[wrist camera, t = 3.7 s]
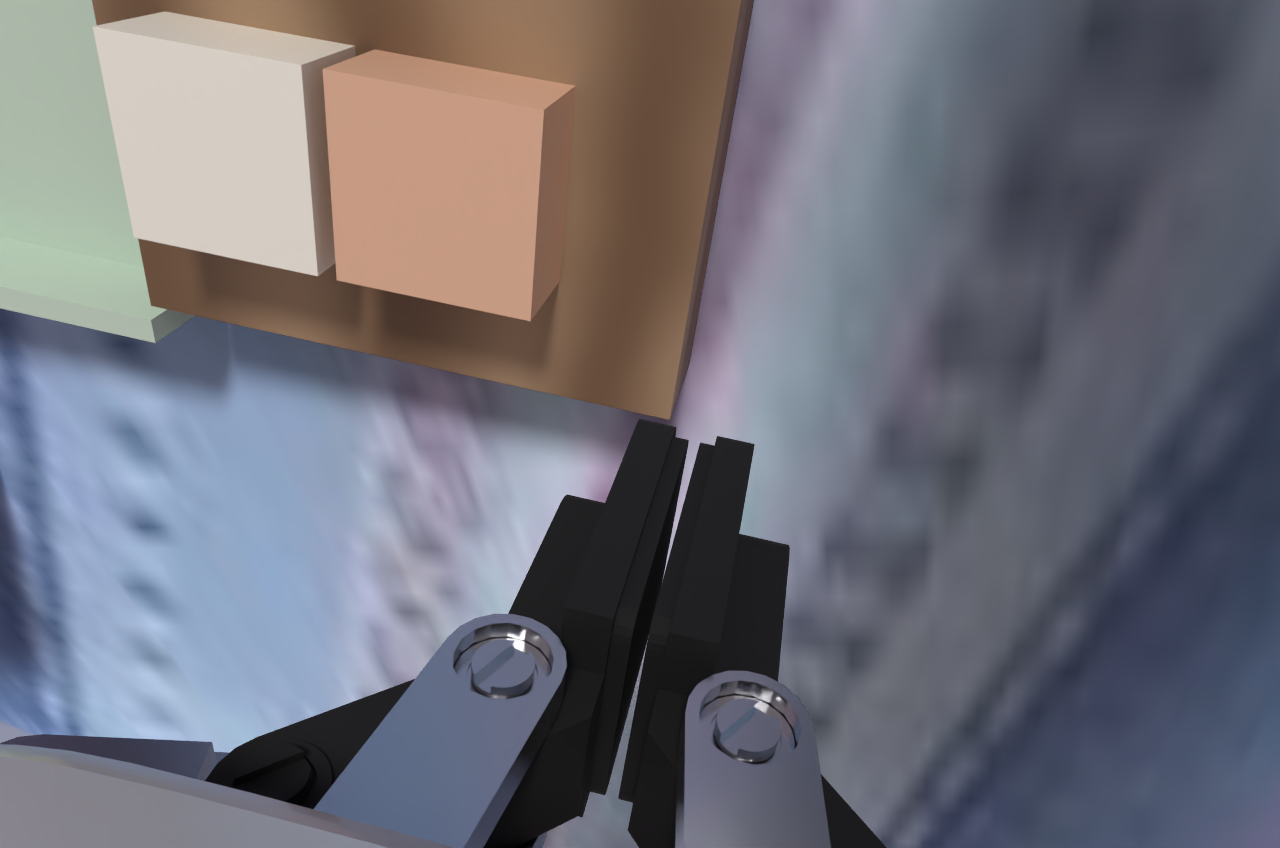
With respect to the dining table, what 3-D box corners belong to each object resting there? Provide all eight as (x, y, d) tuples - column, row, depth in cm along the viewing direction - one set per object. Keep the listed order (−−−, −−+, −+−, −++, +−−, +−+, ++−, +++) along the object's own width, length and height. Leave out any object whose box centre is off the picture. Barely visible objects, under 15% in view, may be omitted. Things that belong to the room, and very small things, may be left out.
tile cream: (355, 46, 22) (301, 65, 19) (364, 241, 24) (318, 276, 22) (165, 11, 22) (92, 26, 20) (194, 206, 25) (134, 237, 23)
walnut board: (766, -69, 22) (751, -60, 19) (689, 362, 28) (669, 420, 25) (159, -165, 23) (59, -170, 20) (220, 263, 30) (150, 305, 27)
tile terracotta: (575, 85, 21) (543, 109, 19) (559, 281, 24) (530, 321, 22) (374, 49, 21) (323, 69, 19) (381, 245, 24) (337, 280, 22)
